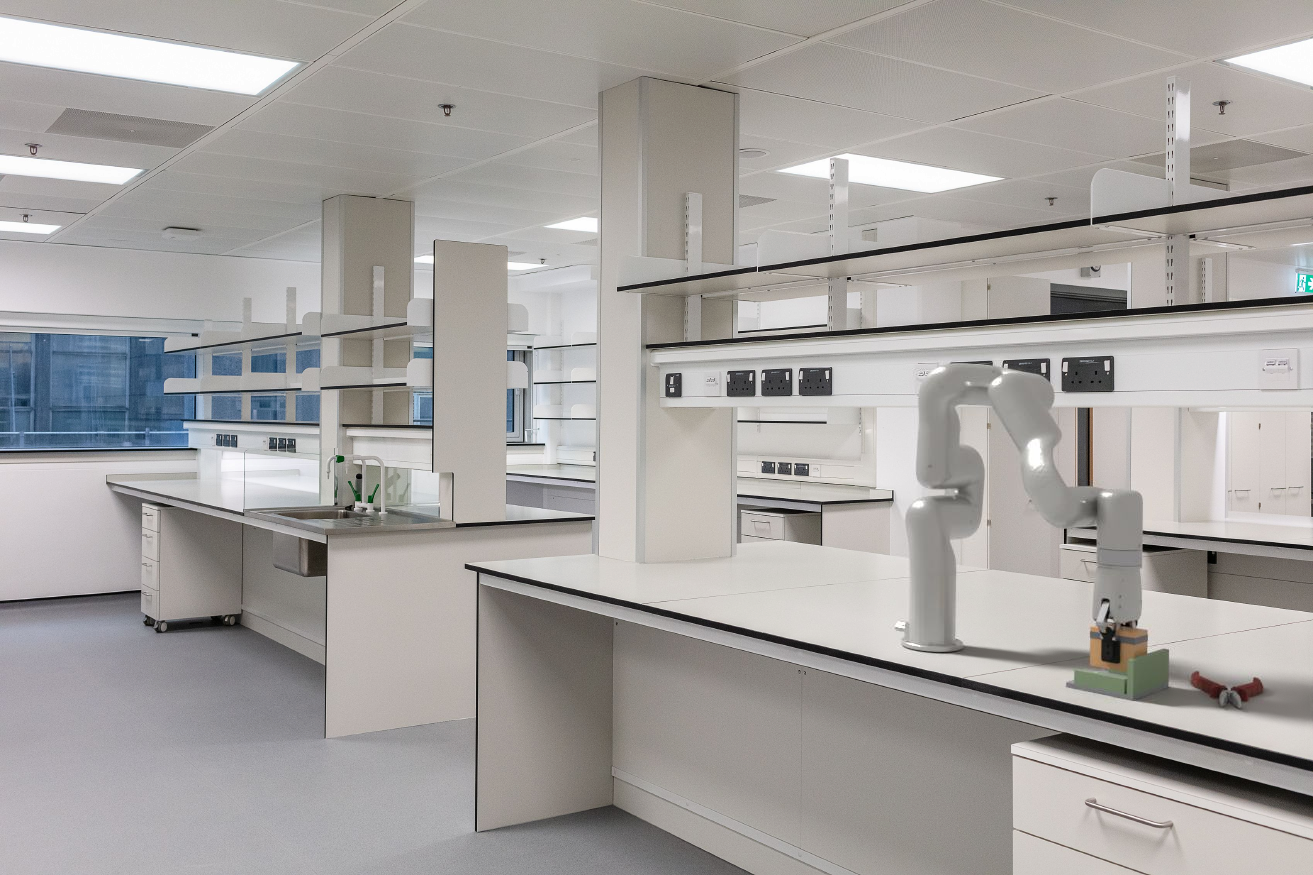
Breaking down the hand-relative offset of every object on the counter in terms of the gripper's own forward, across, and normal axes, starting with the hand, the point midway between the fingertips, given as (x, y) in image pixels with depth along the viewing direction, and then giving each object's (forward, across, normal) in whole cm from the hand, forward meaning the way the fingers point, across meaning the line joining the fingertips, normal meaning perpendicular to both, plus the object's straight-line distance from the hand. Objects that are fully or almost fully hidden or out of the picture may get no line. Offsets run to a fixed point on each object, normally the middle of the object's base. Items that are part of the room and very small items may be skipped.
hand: (1118, 658), depth 189 cm
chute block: (+2, 0, 0) cm, 2 cm away
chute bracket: (+5, 0, 0) cm, 5 cm away
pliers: (+6, -9, +14) cm, 17 cm away
